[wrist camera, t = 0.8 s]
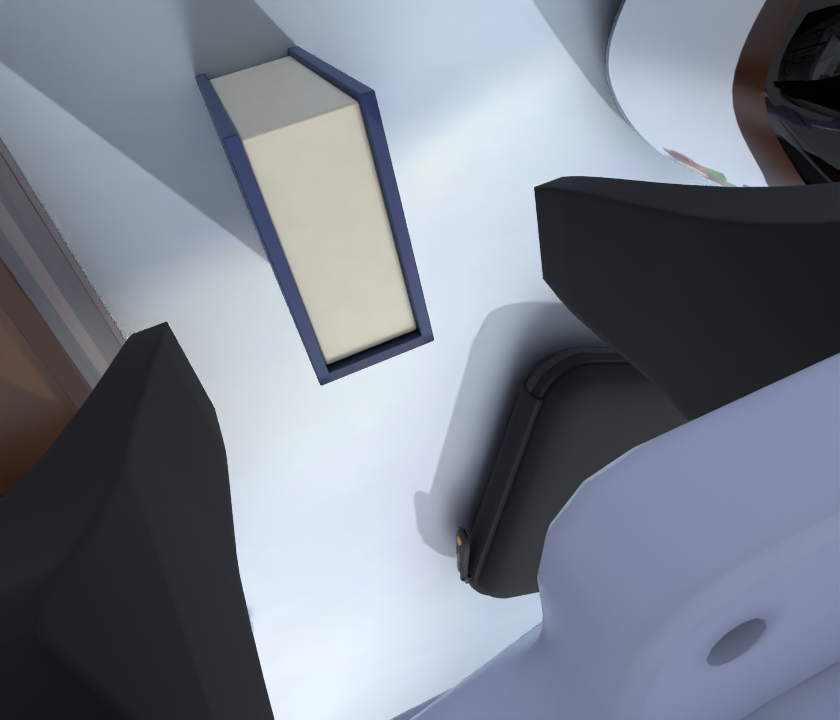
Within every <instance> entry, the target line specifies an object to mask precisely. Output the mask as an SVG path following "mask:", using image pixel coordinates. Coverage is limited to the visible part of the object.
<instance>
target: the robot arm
mask: <svg viewBox="0 0 840 720" xmlns="http://www.w3.org/2000/svg"><path fill="white" fill-rule="evenodd" d="M534 191H535V201H536V211H537V221H538V232H539V242H540V252H541V262H542V272H543V279H544V280H545V281H546V283H547V284H548V285H549V286H550V288H551V289H552V290H553V291H554V293H555V294H556V295H557V297H558V298H559V299H560V300H561V301H562V302H563V303H564V305H565V306H566V307H567V308H568V309H569V310H570V311H571V312H572V313H573V314H574V315H575V316H576V317H577V318H578V319H579V320H581V321H582V322H583V323H584V324H585V325H586V326H587V327H589V328H590V329H591V330H592V331H593V332H594V333H595V334H597V335H598V336H599V337H600V338H601V339H602V340H604V341H605V342H606V343H607V344H608V345H609V346H611V347H612V348H613V349H614V350H615V351H616V352H618V353H619V354H620V355H621V356H622V357H623V358H625V359H626V360H627V361H628V362H629V363H630V364H632V365H633V366H634V367H635V368H636V369H638V370H639V371H640V372H641V373H642V374H643V375H644V376H645V377H647V378H648V379H649V380H650V381H651V382H652V383H653V384H654V385H655V386H656V387H657V388H658V389H659V390H660V391H661V392H662V393H663V394H664V395H665V396H666V397H667V398H668V400H669V401H670V402H671V403H672V404H673V405H674V406H675V407H676V408H677V409H678V410H679V412H680V413H681V414H682V415H683V416H684V417H685V418H686V419H687V420H688V421H689V422H688V423H686V424H684V425H682V426H679V427H677V428H675V429H673V430H671V431H669V432H666V433H664V434H662V435H660V436H658V437H656V438H653V439H651V440H649V441H647V442H645V443H642V444H640V445H638V446H636V447H634V448H632V449H630V450H629V451H627V452H626V453H625V454H623V455H622V456H620V457H619V458H617V459H616V460H614V461H613V462H611V463H610V464H608V465H607V466H605V467H604V468H602V469H601V470H599V471H598V472H596V473H595V474H593V475H592V476H590V477H589V478H588V479H586V480H585V481H583V483H582V484H581V485H580V486H579V488H578V489H577V490H576V492H575V493H574V494H573V495H572V497H571V498H570V499H569V501H568V502H567V503H566V504H565V506H564V507H563V508H562V510H561V511H560V512H559V513H558V515H557V516H556V517H555V519H554V520H553V521H552V522H551V524H550V526H549V528H548V531H547V534H546V538H545V543H544V548H543V552H542V557H541V561H540V566H539V571H538V575H537V580H538V586H539V592H540V598H541V605H542V611H543V621H542V622H541V623H539V624H538V625H536V626H535V627H534V628H532V629H531V630H530V631H528V632H527V633H526V634H524V635H523V636H522V637H520V638H519V639H518V640H516V641H515V642H514V643H512V644H511V645H509V646H508V647H507V648H505V649H504V650H503V651H501V652H500V653H499V654H497V655H496V656H495V657H493V658H492V659H491V660H489V661H488V662H487V663H485V664H484V665H483V666H481V667H480V668H479V669H477V670H476V671H475V672H473V673H472V674H471V675H469V676H468V677H466V678H465V679H464V680H462V681H461V682H460V683H458V684H457V685H456V686H454V687H453V688H451V689H449V690H447V691H445V692H443V693H442V694H440V695H438V696H436V697H434V698H432V699H430V700H428V701H426V702H424V703H422V704H420V705H418V706H416V707H414V708H412V709H410V710H408V711H406V712H404V713H402V714H400V715H398V716H396V717H394V718H392V719H390V720H840V182H835V183H824V184H812V185H797V186H768V187H719V186H699V185H682V184H668V183H657V182H646V181H635V180H625V179H614V178H602V177H587V176H569V177H561V178H558V179H555V180H553V181H550V182H547V183H544V184H542V185H539V186H536V187H534ZM253 632H254V628H253V623H252V622H251V621H250V619H249V615H248V610H247V606H246V601H245V597H244V592H243V588H242V583H241V579H240V574H239V567H238V561H237V554H236V544H235V534H234V524H233V514H232V504H231V494H230V484H229V475H228V465H227V457H226V450H225V446H224V442H223V438H222V434H221V430H220V426H219V423H218V419H217V415H216V411H215V408H214V406H213V404H212V403H211V401H210V399H209V397H208V395H207V393H206V392H205V390H204V388H203V386H202V384H201V383H200V381H199V379H198V377H197V375H196V374H195V372H194V370H193V368H192V366H191V365H190V363H189V361H188V359H187V357H186V356H185V354H184V352H183V350H182V348H181V346H180V345H179V343H178V341H177V339H176V337H175V336H174V334H173V332H172V330H171V328H170V327H169V325H168V323H167V322H164V323H162V324H159V325H156V326H153V327H151V328H148V329H145V330H142V331H140V332H137V333H134V334H132V335H131V336H130V337H129V338H128V339H127V341H126V342H125V343H124V345H123V346H122V348H121V349H120V351H119V352H118V354H117V355H116V357H115V358H114V360H113V361H112V363H111V364H110V366H109V367H108V369H107V370H106V372H105V373H104V374H103V376H102V377H101V379H100V380H99V382H98V383H97V385H96V386H95V388H94V389H93V391H92V392H91V394H90V395H89V396H88V398H87V399H86V401H85V402H84V403H83V405H82V406H81V407H80V409H79V410H78V411H77V413H76V414H75V415H74V416H73V418H72V419H71V420H70V422H69V423H68V424H67V426H66V427H65V428H64V430H63V431H62V432H61V433H60V435H59V436H58V437H57V439H56V440H55V441H54V442H53V444H52V445H51V446H50V447H49V448H48V450H47V451H46V452H45V453H44V454H43V455H42V456H41V458H40V459H39V460H38V461H37V462H36V463H35V464H34V465H33V466H32V467H31V469H30V470H29V471H28V472H27V473H26V474H25V475H24V476H23V477H22V478H21V479H20V480H19V481H18V482H17V483H16V484H15V485H14V486H13V488H12V489H11V490H9V491H8V492H7V493H6V494H5V495H4V496H3V497H2V498H1V499H0V720H274V716H273V712H272V708H271V705H270V701H269V697H268V693H267V689H266V685H265V681H264V678H263V673H262V669H261V665H260V661H259V657H258V653H257V649H256V644H255V640H254V636H253Z"/></svg>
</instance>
